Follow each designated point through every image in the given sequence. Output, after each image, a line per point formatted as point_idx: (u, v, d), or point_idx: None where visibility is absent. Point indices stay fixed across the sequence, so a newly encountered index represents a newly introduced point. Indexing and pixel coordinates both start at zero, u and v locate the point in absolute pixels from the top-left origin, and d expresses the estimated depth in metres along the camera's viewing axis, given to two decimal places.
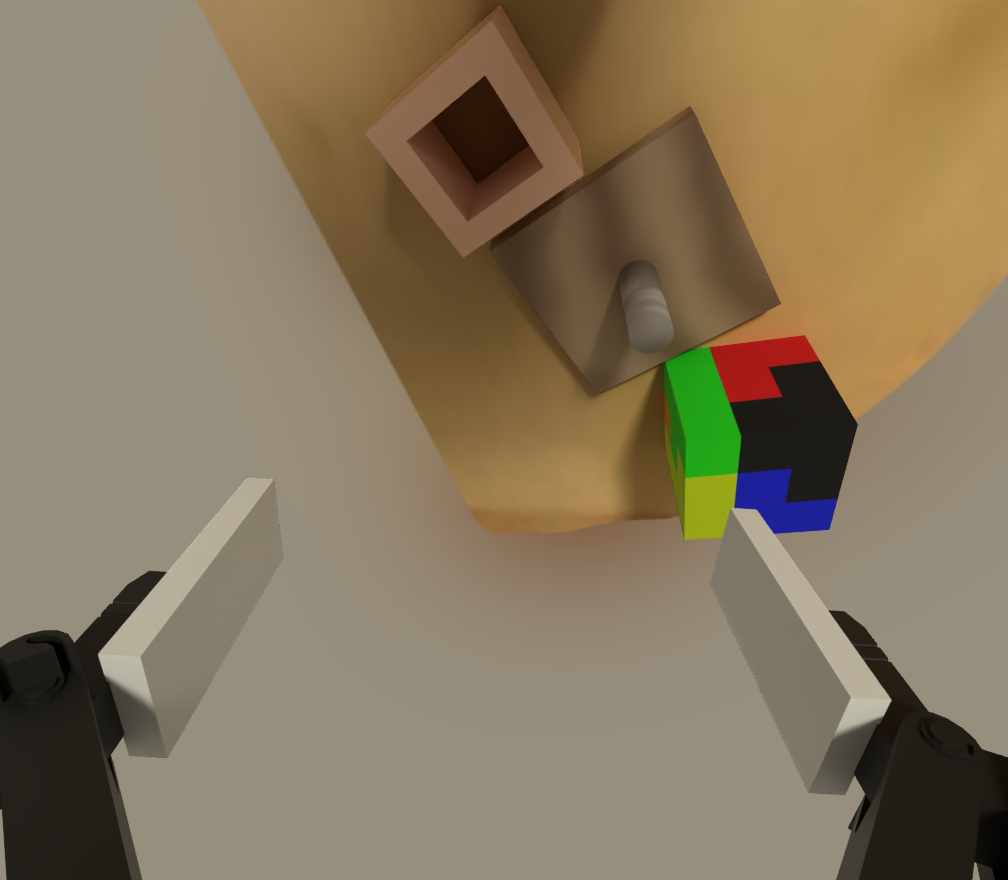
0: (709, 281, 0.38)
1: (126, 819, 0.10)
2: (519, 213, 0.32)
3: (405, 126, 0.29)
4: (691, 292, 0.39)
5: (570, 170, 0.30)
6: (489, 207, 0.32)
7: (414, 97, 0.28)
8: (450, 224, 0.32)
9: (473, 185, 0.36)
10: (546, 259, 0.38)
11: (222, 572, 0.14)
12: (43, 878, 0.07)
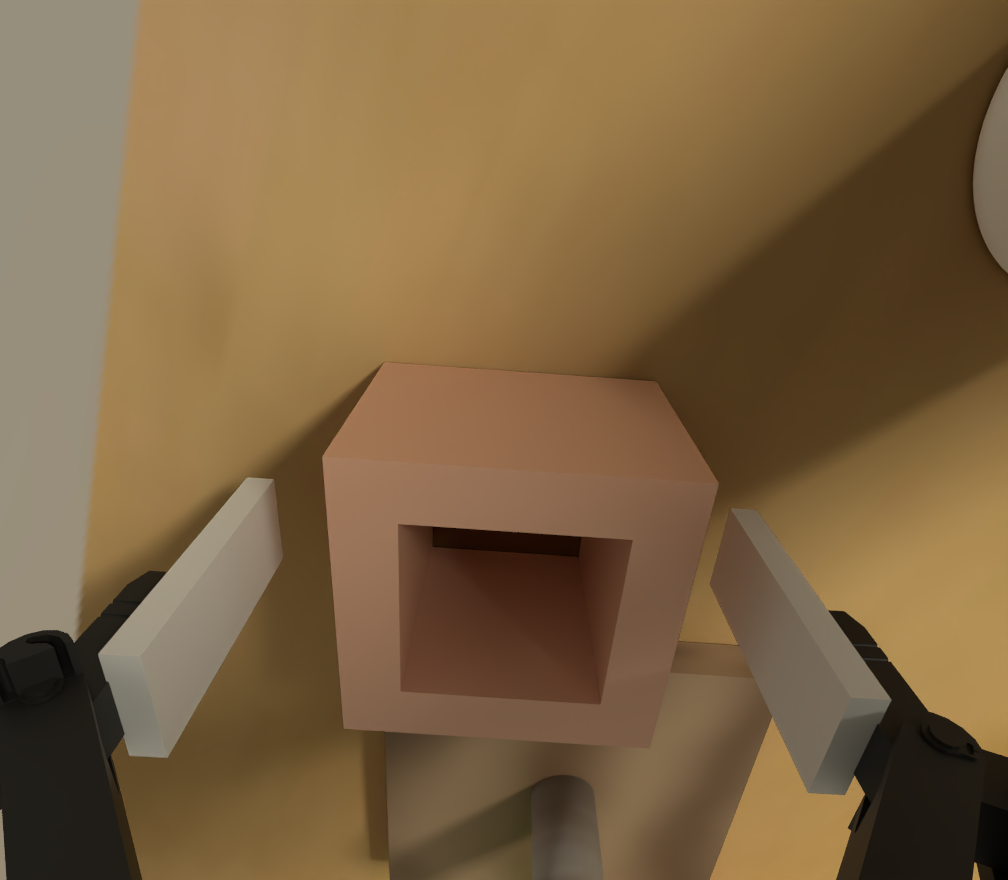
0: (643, 843, 0.24)
1: (126, 819, 0.10)
2: (501, 732, 0.15)
3: (417, 503, 0.12)
4: (613, 843, 0.24)
5: (636, 732, 0.15)
6: (460, 696, 0.15)
7: (478, 479, 0.12)
8: (365, 676, 0.14)
9: (428, 558, 0.19)
10: None
11: (223, 572, 0.14)
12: (43, 878, 0.07)
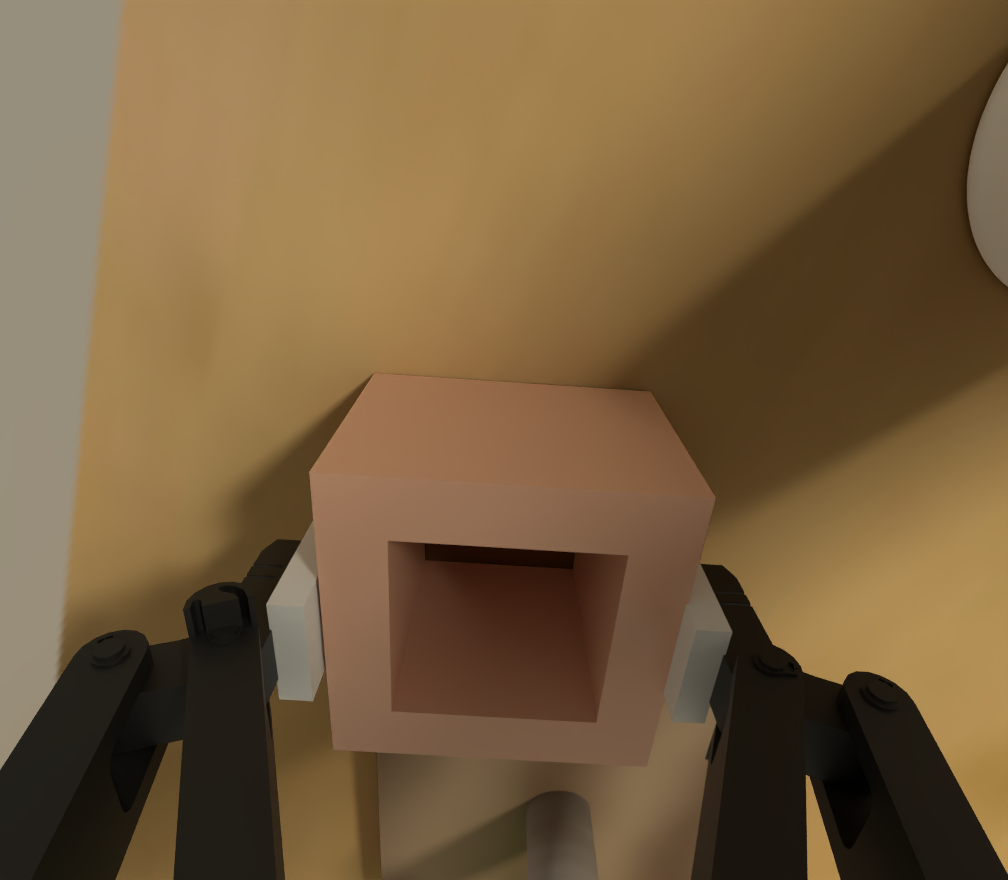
0: (640, 859, 0.24)
1: (274, 765, 0.11)
2: (494, 752, 0.15)
3: (407, 520, 0.12)
4: (609, 859, 0.24)
5: (633, 750, 0.15)
6: (453, 716, 0.14)
7: (470, 495, 0.12)
8: (355, 696, 0.14)
9: (420, 572, 0.19)
10: None
11: None
12: (205, 802, 0.08)
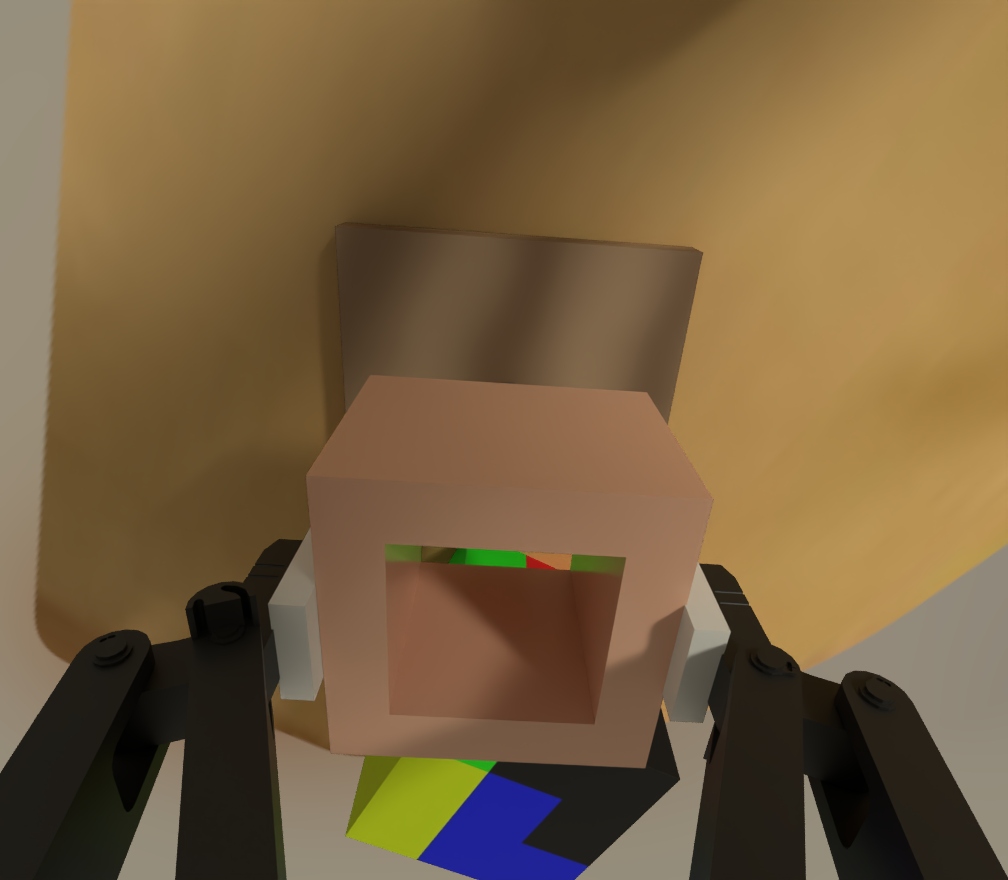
0: None
1: (276, 764, 0.11)
2: (493, 754, 0.15)
3: (405, 522, 0.12)
4: None
5: (631, 752, 0.15)
6: (450, 718, 0.14)
7: (467, 497, 0.12)
8: (352, 700, 0.14)
9: (417, 573, 0.19)
10: (407, 298, 0.23)
11: None
12: (207, 802, 0.08)
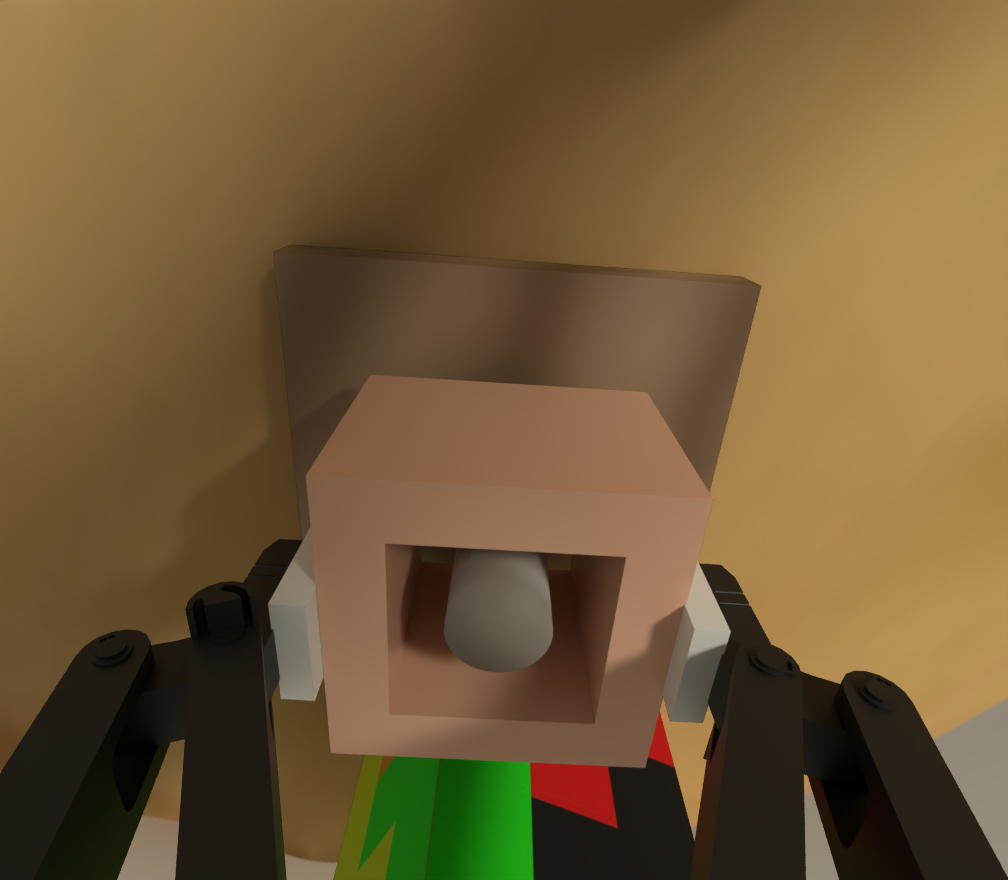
0: None
1: (276, 764, 0.11)
2: (493, 753, 0.15)
3: (405, 522, 0.12)
4: (565, 556, 0.21)
5: (631, 751, 0.15)
6: (450, 718, 0.14)
7: (467, 497, 0.12)
8: (352, 699, 0.14)
9: (417, 573, 0.19)
10: (372, 344, 0.18)
11: None
12: (207, 802, 0.08)
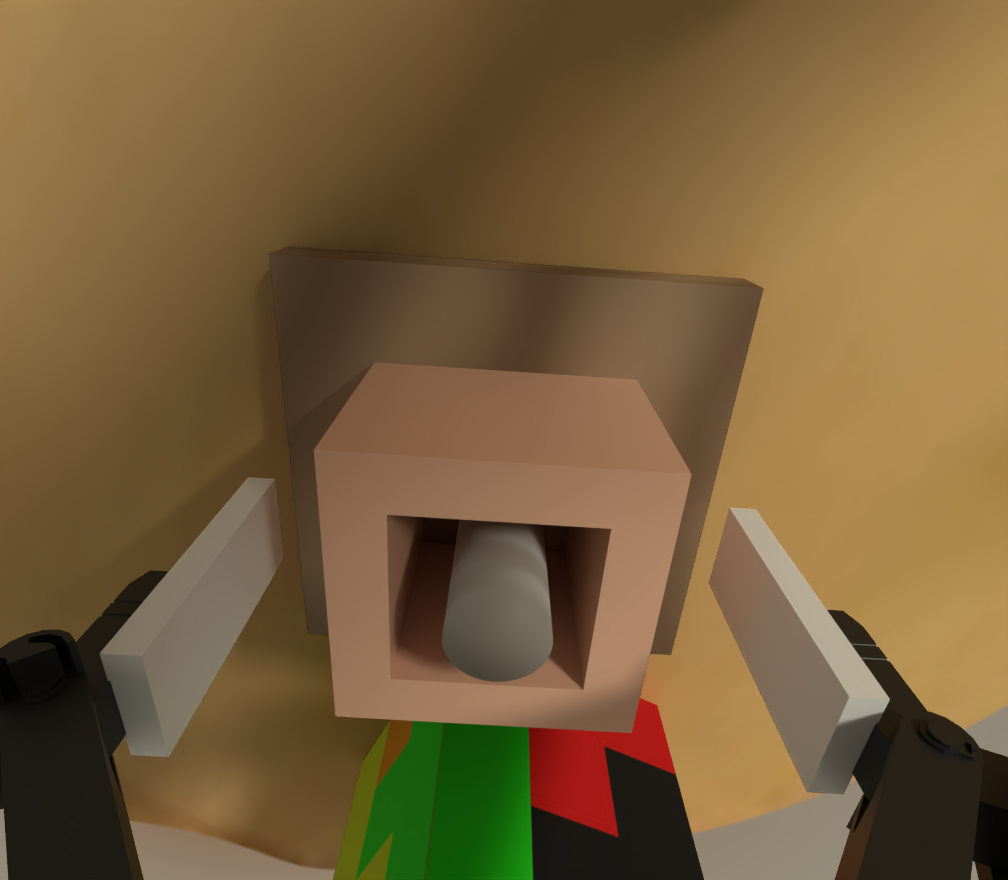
0: None
1: (128, 818, 0.10)
2: (488, 718, 0.16)
3: (405, 495, 0.13)
4: None
5: (618, 717, 0.16)
6: (448, 683, 0.15)
7: (463, 471, 0.12)
8: (356, 664, 0.15)
9: (418, 553, 0.20)
10: (369, 347, 0.17)
11: (224, 572, 0.14)
12: (44, 877, 0.07)
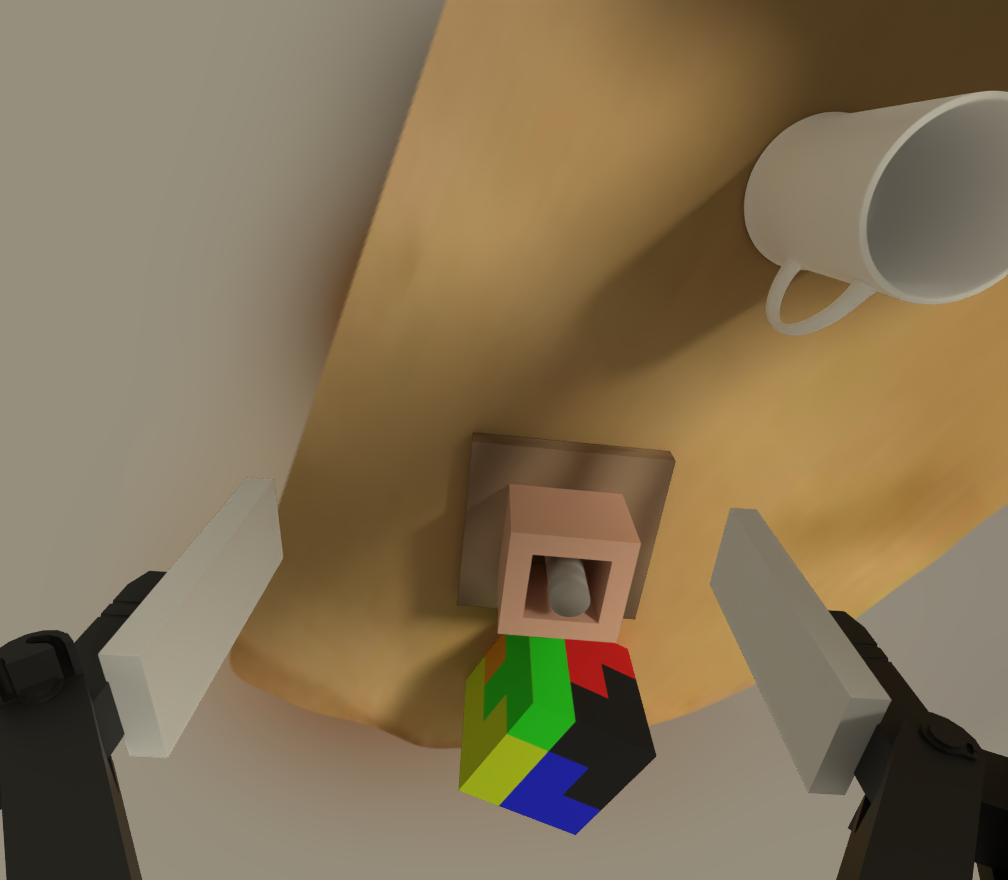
0: None
1: (126, 819, 0.10)
2: (559, 635, 0.39)
3: (540, 547, 0.36)
4: None
5: (611, 635, 0.39)
6: (545, 620, 0.38)
7: (561, 540, 0.36)
8: (510, 611, 0.38)
9: None
10: (508, 478, 0.41)
11: (223, 572, 0.14)
12: (42, 878, 0.07)
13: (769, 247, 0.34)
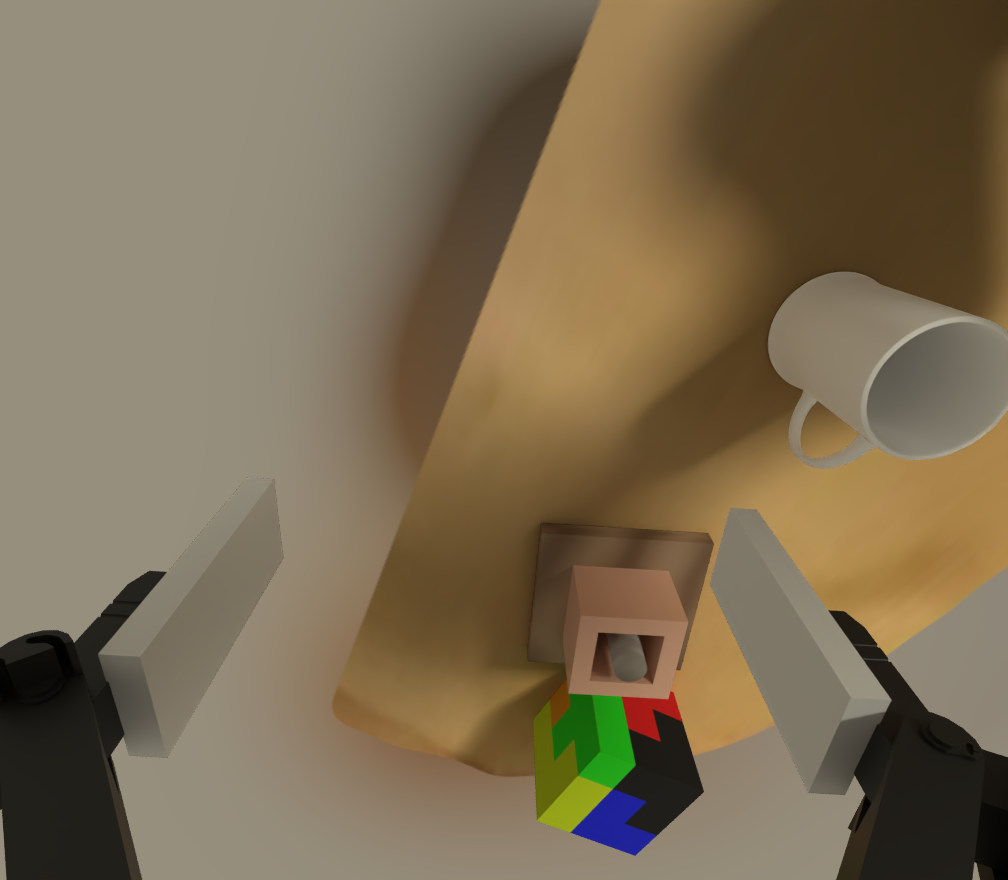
0: None
1: (126, 819, 0.10)
2: (620, 694, 0.46)
3: (604, 627, 0.43)
4: None
5: (664, 693, 0.46)
6: (608, 682, 0.46)
7: (622, 621, 0.43)
8: (579, 676, 0.46)
9: None
10: (572, 560, 0.48)
11: (222, 572, 0.14)
12: (43, 878, 0.07)
13: (790, 379, 0.41)
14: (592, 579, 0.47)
